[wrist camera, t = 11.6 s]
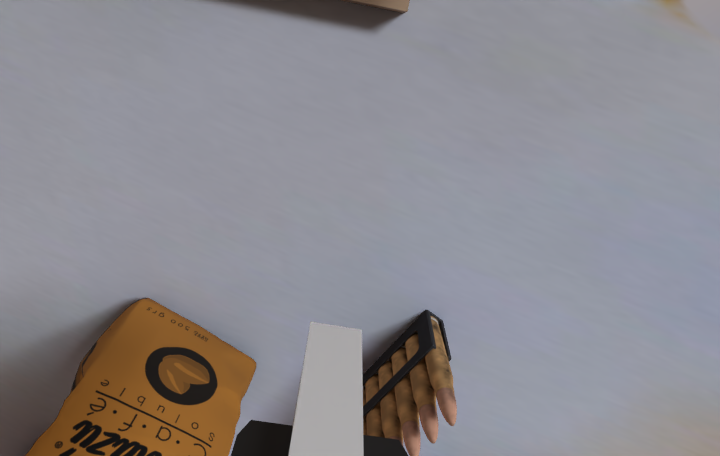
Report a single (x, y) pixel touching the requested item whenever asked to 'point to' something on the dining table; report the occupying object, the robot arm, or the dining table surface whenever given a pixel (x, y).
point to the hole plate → (384, 4)
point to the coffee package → (152, 391)
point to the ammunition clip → (410, 386)
